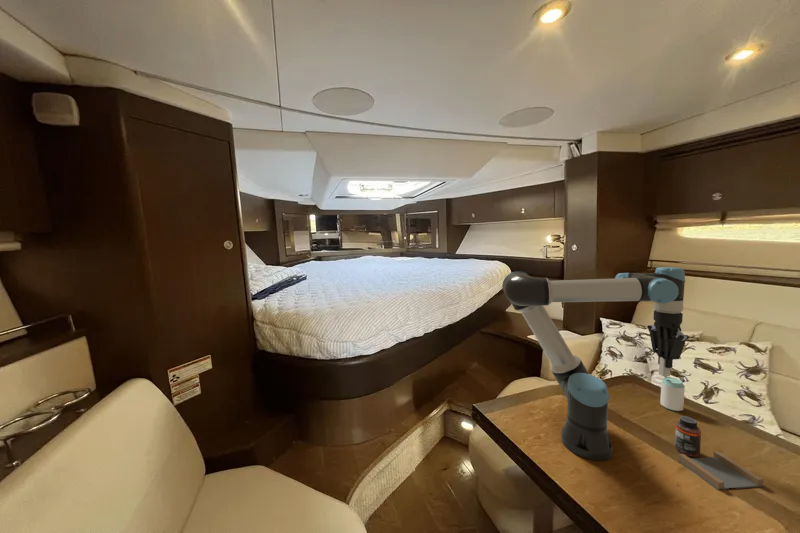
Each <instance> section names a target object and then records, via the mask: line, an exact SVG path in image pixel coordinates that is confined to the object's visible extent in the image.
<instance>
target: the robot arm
mask: <svg viewBox="0 0 800 533" xmlns="http://www.w3.org/2000/svg"><path fill="white" fill-rule="evenodd" d="M685 282H686V273H685V270H684V269H683V268H682V267H674V266H673V267H672V266H662V267H661V266H658V267H656V268H655V271H654V272H651V273H650V272H648V273H646V272H620V273H617V274H616V275H615V276H614V278H594V279H590V278H588V279H587V278H586V279H570V280H569V279H563V280H561V279H559V280H550V279H548V277H533V276H530V275H529V274H528V273H527V272H524V271H522V270H521V271H519V270H518V271H512V272H510V273H509V274H507V275H506V276H505V278H504V279H503V281H502V286H501V288H502V290H503V293H504V295H505V297H506V298H507V300H508V301H509V303H510V304H511V305H512V307H513V310H515V311H517V312H520V313H521V315H522V317H523V318H524V320H525V321H526V324H527V325H528V327H529V328H530V330H531V331H532V333H533V335H534V336H535V339H536V340H537V341H538V343H539V345H540V347H541V349H542V350H543V352H544V353H545V355H546V357H547V359H548V360H549V361H550V371H551V373H552V375H553V377H554V378H555V379H556V382H557V384H558V385H559V387H560V388H561V391H562V393H563V394H564V397H565V398H566V400H567V401H566V402H567V406H566V407H567V410H566V412H567V415H566V416H567V417H566V420H565V422H564V425H563V427H562V429H561V431H560V440H561V442H562V444H563V445H564V447H566V448H567V449H568V450H569V451H570V452H572V453H573V454H576V455H577V456H580V457H582V458H584V459H587V460H592V461H607V460H609V459H611V458H612V456H613V452H614V450H613V443H612V440H611V438H610V434H609V431H608V414H609V412H608V411H609V400H610V395H609V388H608V385H607V384H606V383H605V382H604V381H603V380H602V379H601V378H599V377H596V376H595V375H593V374H590V373H589V371H588V370H587V368H586V366H585V365H584V363H583V362H582V359H581V358H580V357H579V356H577V355H573V353H572V351H571V349H570V347H568V344H567V343H566V341H565V339H564V337H563V335H561V332H560V331H559V330H558V328H557V326H556V324H555V323H554V321H553V320H552V318H551V316H550V314H549V312H547V310H546V308H545V306H550V305H551V304H552V303H585V302H587V303H589V302H590V303H592V302H595V303H597V302H600V303H601V302H653V309H654V310H653V315H652V316H653V320H654V323H653V324H652V325H647V330H648V332H649V335H650V344H651V347H652V348H651V349H652V352H653V353H655V354H657V356H658V357H657V358H658V359H657V364H658V365H659V366H658V367H659V368H658V369H659V370H658V375H660V376H661V377H671V369H672V368H673V360H679V359H680V358H681V356H682V352H683V350H684V346H685V345H686V344H685V343H686V342H687V340H688V339H690V337H689V335H688V334H685V333H684V332H682V327H681V325H682V324H683V318H684V316H683V313H682V312H683V311H684V295H685V284H686V283H685Z"/></svg>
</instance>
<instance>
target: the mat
mask: <svg viewBox="0 0 800 533" xmlns="http://www.w3.org/2000/svg"><path fill="white" fill-rule="evenodd" d="M677 461H678V462H679V463H680V464H682V465H684V467H686V468H687V469H689V470H690V471H691V472H692V473H694V474H695V475H697V476H698V477H699V476H700V477H699V478H701V479H702V478H703V479H702V480H704V481H705V482H706V483H707V484H709V485H711V487H713V488H714V489H715V490H716V491H717V490H718V491H719V490H720V489H723V490H730V489H729V488H736V489H746V488H758V487H759V488H760V487H764V479H763V478H762V477H761V476H759V475H757V474H755V473H754V472H753V471H750V470H749V469H748V468H746V467H744V466H742V465H741V464H739V463H738V462H737V461H734V460H733V459H731V458H730V457H728V456H727V455H726V454H723V453H721V452H720V451H713V456H710V457H709V456H708V457H692V458H691V457H690V456H688V455H685V454H683V453H679V454H678V460H677ZM720 491H721V490H720Z"/></svg>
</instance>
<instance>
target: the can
mask: <svg viewBox="0 0 800 533" xmlns="http://www.w3.org/2000/svg"><path fill="white" fill-rule="evenodd" d="M660 384H661V385H660V402H659V403H660V405H661V406H662V407H664V409H666V410H669V411H673V412H680V411H684V406H685V405H684V404H685V402H684V401H685V390H686V388H685V385H684V382H683V381H682V380H680V379H678V378H675V377H671V376H663V379H662V380H661V383H660Z"/></svg>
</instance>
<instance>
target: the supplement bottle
mask: <svg viewBox="0 0 800 533" xmlns="http://www.w3.org/2000/svg"><path fill="white" fill-rule="evenodd" d="M701 436H702V431H701V429H700V427H698V420H696V419H694V418H692V417H690V416H686V415H682V416H680V417H679V421H677V422H676V423H675V440H674V447H675V449H676V450H677V451H678V452H680V454H685V455H686V456H687V457H690V458H691V457H692V458H699V457H700V454H701V442H702V441H701V440H702V437H701Z"/></svg>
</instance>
